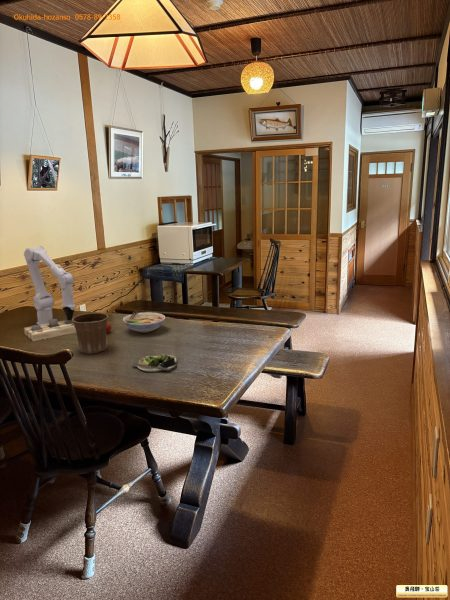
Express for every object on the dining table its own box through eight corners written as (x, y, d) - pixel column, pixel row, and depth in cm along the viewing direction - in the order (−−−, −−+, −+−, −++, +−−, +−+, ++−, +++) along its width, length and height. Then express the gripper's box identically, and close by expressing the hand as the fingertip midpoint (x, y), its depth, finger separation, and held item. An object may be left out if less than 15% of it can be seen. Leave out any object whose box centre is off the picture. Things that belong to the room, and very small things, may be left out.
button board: (24, 334, 230) (23, 327, 229) (74, 324, 247) (73, 318, 246) (33, 341, 219) (32, 334, 218) (85, 330, 236) (84, 323, 235)
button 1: (31, 334, 229) (30, 325, 228) (39, 332, 232) (38, 324, 230) (33, 336, 226) (32, 327, 224) (42, 334, 228) (41, 326, 227)
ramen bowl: (162, 338, 224) (161, 323, 222) (118, 338, 224) (117, 323, 222) (169, 324, 248) (168, 310, 246) (129, 324, 248) (128, 310, 246)
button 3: (65, 327, 240) (64, 319, 239) (72, 325, 243) (72, 318, 242) (68, 329, 237) (67, 321, 236) (75, 327, 239) (75, 319, 238)
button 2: (48, 327, 234) (47, 319, 233) (56, 326, 237) (55, 318, 236) (51, 329, 231) (50, 321, 230) (59, 328, 233) (58, 320, 232)
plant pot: (73, 357, 198) (70, 323, 194) (75, 345, 213) (73, 314, 209) (110, 354, 202) (108, 320, 198) (110, 342, 217) (107, 311, 213)
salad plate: (129, 375, 179) (128, 365, 178) (134, 359, 196) (133, 350, 195) (176, 373, 180) (176, 363, 179) (177, 358, 198) (176, 348, 197)
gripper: (55, 294, 238) (57, 318, 242) (65, 299, 228) (67, 324, 231) (68, 292, 243) (70, 316, 246) (78, 297, 232) (80, 321, 235)
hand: (69, 319), depth 239 cm, fingers closed, pressing on button 3
